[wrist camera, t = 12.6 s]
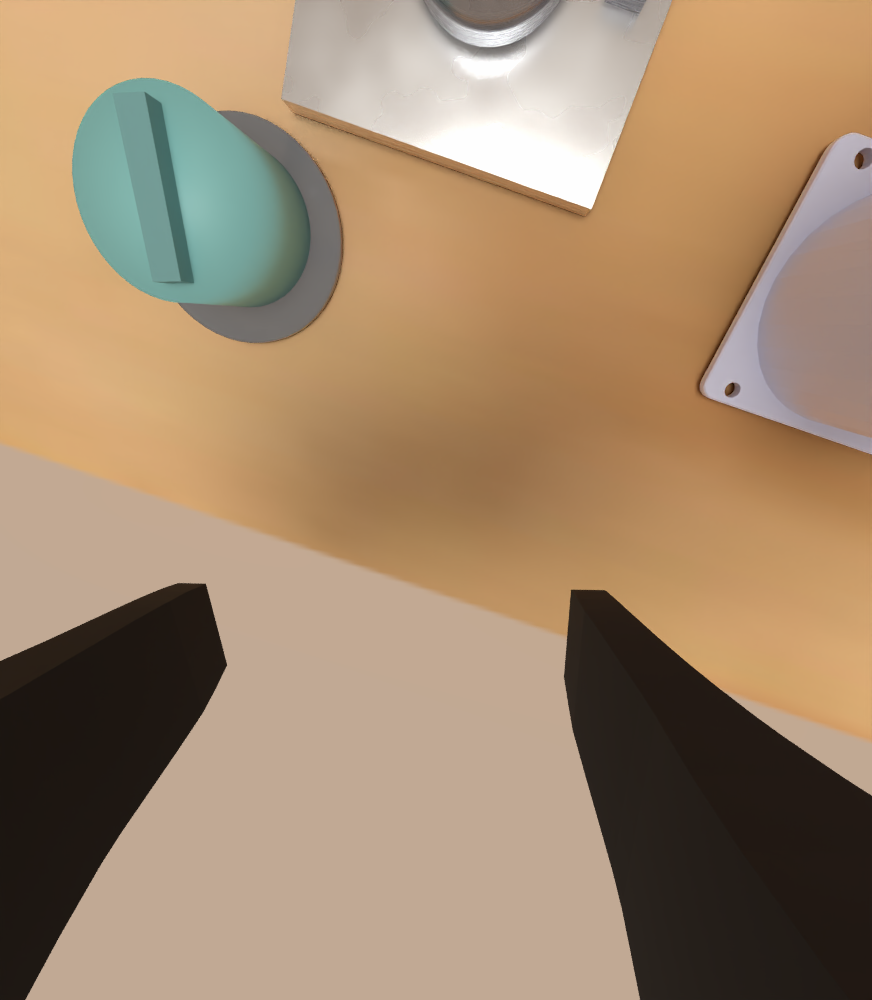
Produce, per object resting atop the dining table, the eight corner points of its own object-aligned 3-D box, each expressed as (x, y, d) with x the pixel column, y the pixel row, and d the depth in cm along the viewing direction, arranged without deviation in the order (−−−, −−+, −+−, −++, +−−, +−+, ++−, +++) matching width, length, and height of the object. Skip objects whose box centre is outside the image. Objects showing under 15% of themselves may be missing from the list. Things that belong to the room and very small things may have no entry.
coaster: (363, 157, 15) (360, 152, 14) (320, 367, 17) (316, 368, 17) (158, 84, 15) (150, 77, 14) (145, 307, 17) (138, 307, 17)
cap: (317, 306, 16) (259, 301, 12) (186, 307, 17) (85, 302, 12) (301, 137, 14) (226, 58, 10) (155, 143, 15) (23, 71, 11)
